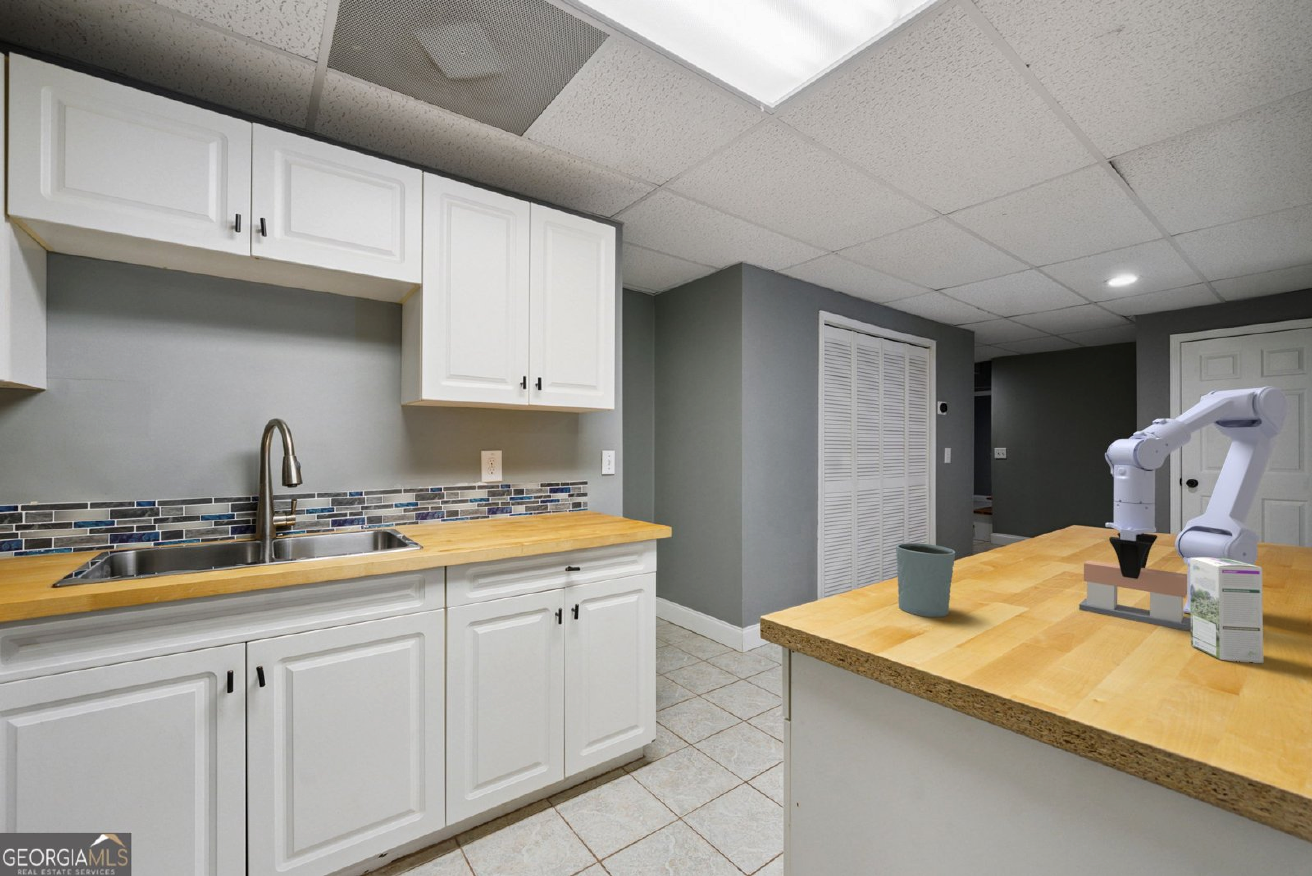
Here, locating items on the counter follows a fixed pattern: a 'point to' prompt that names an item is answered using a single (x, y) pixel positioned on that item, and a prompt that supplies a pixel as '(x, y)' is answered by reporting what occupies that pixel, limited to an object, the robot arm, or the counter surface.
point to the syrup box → (1226, 609)
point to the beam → (1146, 581)
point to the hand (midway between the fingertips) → (1133, 574)
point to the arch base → (1161, 608)
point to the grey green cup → (924, 578)
